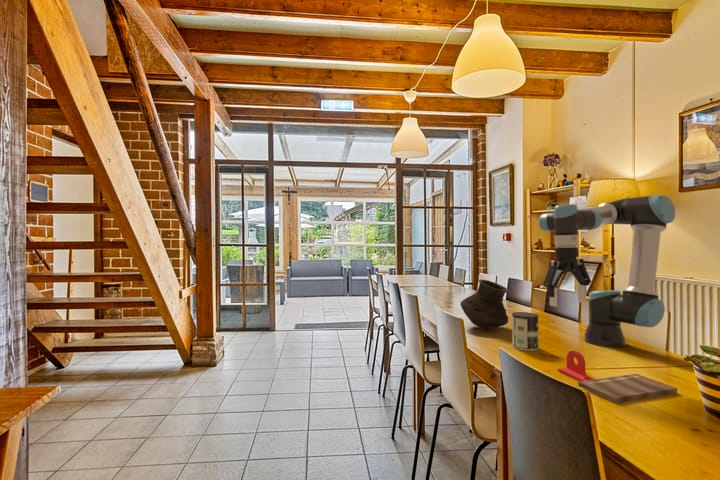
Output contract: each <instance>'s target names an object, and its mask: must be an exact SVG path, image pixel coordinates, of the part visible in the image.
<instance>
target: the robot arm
mask: <svg viewBox="0 0 720 480" xmlns="http://www.w3.org/2000/svg"><path fill="white" fill-rule="evenodd" d="M675 209H676V208H675V205H674V203H673V201H672V200H671V198H669V197H668V196H667V195H663V194H659V195H658V194H656V195H655V194H654V195H653V194H651V195H646V196H636V197H627V198H622V199H616V200H613V201H609V202H603V203H601V204H599V205H598V206H592V207H591V206H590V207H585V208H579V209H578V205H577V204H573V203H570V204H560V205H556V206H554V208H553V212H548V213H542V215H541V216H539V218H538V227H540V229H541V230H542V231H543V232H554V246H555V248H554V256H555V258H556V260H549V266H548V269H547V272H546V275H545V278H544V281H543V284H542V286H543V287H545V288H547V292H548V297H549V306H551V307H555V308H556V307H558V288H556V287H557V285H558V283H559V282H560V279H562V277H563V275H565V273H569V272H570V273H571V274H572V276H573V277H574V278H575V279H576V281H577V282H578V283H579V284H577V302H578V303H583V304H587V301H588V325H587V328H586V330H585V332H584V337H583V338H584V341H585V342H587V343H589V344H592V345H595V346H601V347H608V348H609V347H610V348H621V347H626V344H627V343H626V338H625V335H624V332H623V330H622V326H621V323H623V324H628V325H633V326H637V327H641V328H642V327H644V328H654V327H656V326H658V325H659V324H660V323H661V322H662V320H663V318H664V316H665V313H666V312H665V310H666V309H665V304H664V302H663V301H662V300H661V299H659V294H658V293H657V292H656V291H655V288H656V286H655V285H656V278H657V277H656V276H657V269H658V260H659V250H660V240H661V233H663V231H665V230H666V229H667V224H670V223H672V222H674V220H675V218H676V210H675ZM601 225H630V228H631V229H632V230H633V241H632V250H631V257H630V264H629V265H630V266H629V274H628V275H629V276H628V285H627V287H625V288H624V289H623V290H622V293H621V290H618V289H617V290H613V289H611V290H609V289H608V290H593V291H590V292H589V295H588V300H587V286H589V285H590V284H591V283H592V279H591V277H590V276H589V273H588V270H587V268H586V266H585V260H584V258H578V257H579V247H578V246H579V241H578V240H579V231H592V230H596V229H598V228H600V227H601Z"/></svg>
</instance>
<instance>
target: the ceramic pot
mask: <svg viewBox="0 0 720 480" xmlns="http://www.w3.org/2000/svg"><path fill="white" fill-rule="evenodd" d="M478 282H479V285H478V288H477V290H476V291H475V293H473V294H472V295H469V296H467V297H465V299H462V300H461V302H460V307H461V309H462V311H463V313H464V315H466V317H467V318H468V319H469V320H470V322H471V323H472V324H473V325H474V326H477V327H479V328H482V329H492V328H499V327H503V326H505V325H507V324H508V323H509V316H508V314H507V309H506V308H505V306H504V302H503V299H504V297H505V294H506V293H509V289H508V288H507V287H506V286H504V285H501V284H499V283H496V282H493V281H490V280H487V279H478Z"/></svg>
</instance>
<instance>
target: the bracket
mask: <svg viewBox="0 0 720 480" xmlns="http://www.w3.org/2000/svg"><path fill="white" fill-rule="evenodd" d="M575 359H576V360H577V364H576V362H575ZM557 372H559V373H560V374H563V375H565V376H566V377H569V378H571V379H573V380H575V381H577V382H581V381H588V380H595V379H596V378H594V377H591V376H589V375H588V374H587V373H586V360H585V357H584V355H583V354H582V353H581V352H580V351H578V350H570V351H568V352H567V354H566V367H560V368H557Z"/></svg>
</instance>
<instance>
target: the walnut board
mask: <svg viewBox="0 0 720 480" xmlns="http://www.w3.org/2000/svg"><path fill="white" fill-rule="evenodd" d="M594 379H595V380H588V381H581V382H579V381H577V383H578V384H577V385H578V386H580V387H583V388H585V389H587V390H588V391H587V390H586V391H587V392H590V393H591V394H594V395H595V396H597V397H600V398H602V399H605V400H607V401H609V402H611V403H613V404H621V403H626V402H633V401H637V400H638V401H639V400H646V399H649V398H650V399H651V398H656V397H663V396H667V395H673V394H674V395H675V394H678V388H677V387H674V386H673V385H670V384H667V383H663V382H661V381H658V380H655V379H652V378H649V377H646V376H643V375H641V374H638V373H632V374H631V373H630V374H626V375H625V374H624V375H618V376H610V377H605V378H604V377H603V378H597V379H596V378H594ZM578 386H577V387H578ZM580 387H579V388H580ZM585 389H584V390H585Z"/></svg>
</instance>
